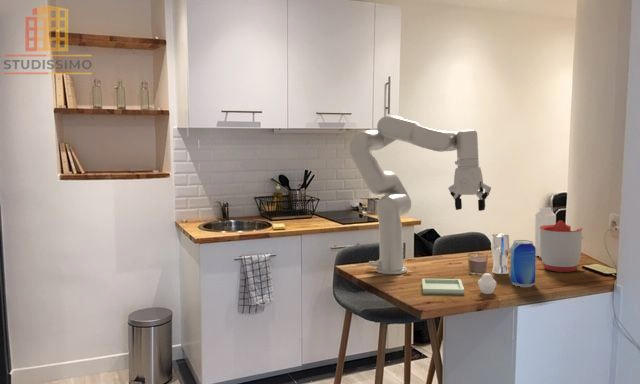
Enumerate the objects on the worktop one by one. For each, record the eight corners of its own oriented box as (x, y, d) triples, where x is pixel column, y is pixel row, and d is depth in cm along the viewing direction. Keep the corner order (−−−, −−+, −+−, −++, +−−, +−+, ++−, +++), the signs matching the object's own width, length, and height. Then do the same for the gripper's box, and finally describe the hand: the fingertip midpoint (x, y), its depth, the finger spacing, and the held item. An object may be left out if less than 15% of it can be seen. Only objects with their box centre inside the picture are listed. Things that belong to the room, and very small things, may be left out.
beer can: (529, 281, 199) (529, 239, 198) (539, 287, 191) (539, 243, 189) (506, 282, 199) (507, 239, 197) (515, 288, 191) (516, 244, 189)
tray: (422, 293, 187) (422, 288, 187) (422, 283, 201) (422, 278, 201) (464, 294, 185) (464, 289, 185) (460, 283, 199) (460, 279, 198)
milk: (555, 257, 237) (556, 208, 235) (543, 258, 235) (544, 208, 233) (545, 254, 243) (547, 206, 240) (534, 255, 241) (535, 207, 239)
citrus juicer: (594, 271, 211) (595, 221, 209) (557, 275, 206) (558, 224, 204) (565, 263, 226) (566, 216, 224) (530, 266, 221) (531, 218, 219)
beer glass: (510, 274, 209) (510, 237, 208) (492, 274, 211) (492, 236, 209) (508, 270, 216) (508, 233, 215) (490, 270, 217) (490, 233, 216)
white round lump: (496, 295, 183) (496, 275, 182) (478, 294, 184) (478, 274, 184) (495, 290, 189) (496, 271, 188) (477, 289, 190) (477, 270, 190)
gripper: (442, 165, 201) (444, 210, 202) (483, 163, 188) (485, 212, 190) (453, 163, 206) (455, 208, 207) (494, 162, 193) (496, 209, 195)
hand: (470, 209), depth 199 cm, fingers open, 9 cm apart
